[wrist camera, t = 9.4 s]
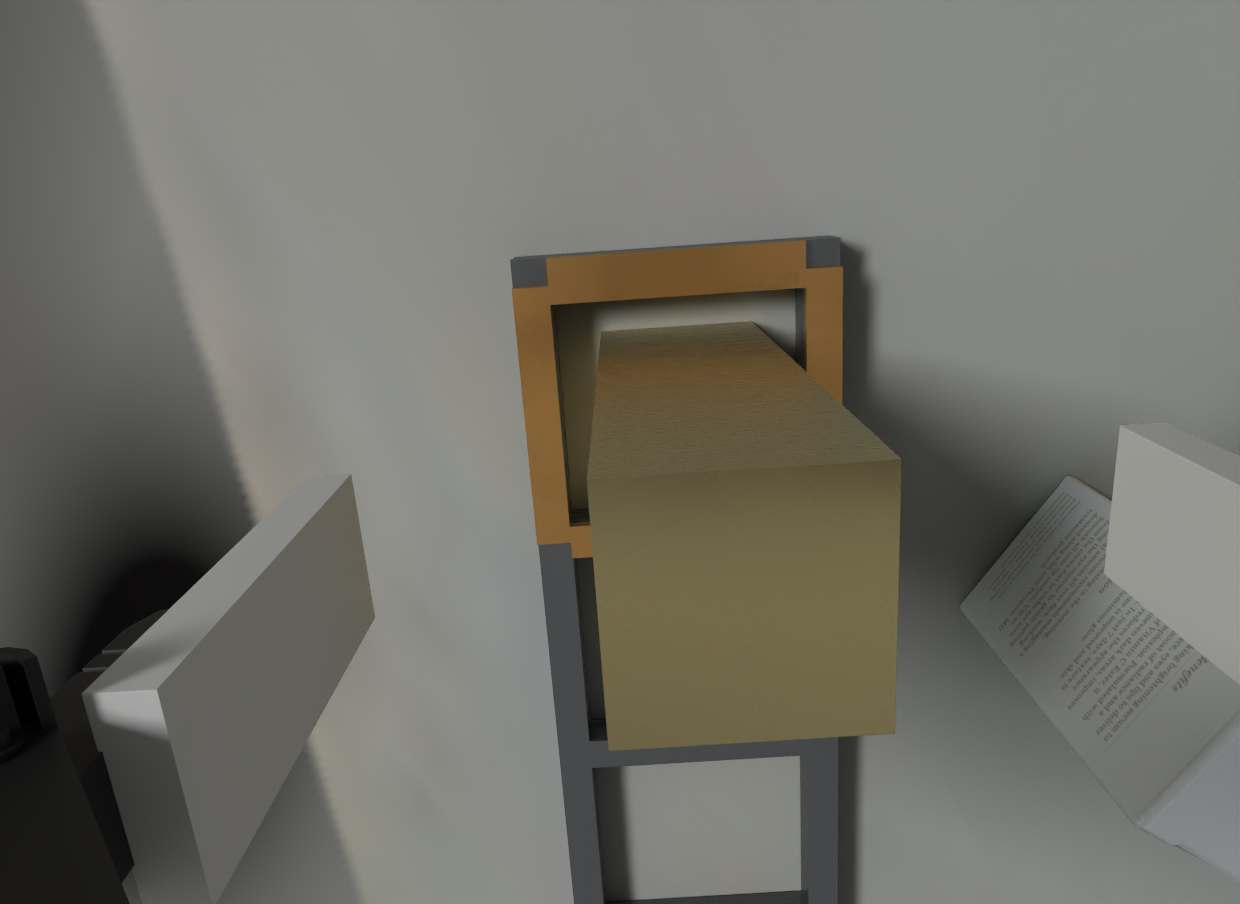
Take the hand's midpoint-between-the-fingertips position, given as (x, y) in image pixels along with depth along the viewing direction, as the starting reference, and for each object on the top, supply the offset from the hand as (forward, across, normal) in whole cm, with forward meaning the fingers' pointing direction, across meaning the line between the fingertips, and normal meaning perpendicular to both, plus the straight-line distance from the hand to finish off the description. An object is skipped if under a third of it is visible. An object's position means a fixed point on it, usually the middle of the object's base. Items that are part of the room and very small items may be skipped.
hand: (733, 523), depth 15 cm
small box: (+12, +13, -8) cm, 19 cm away
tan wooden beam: (+12, 0, -1) cm, 12 cm away
